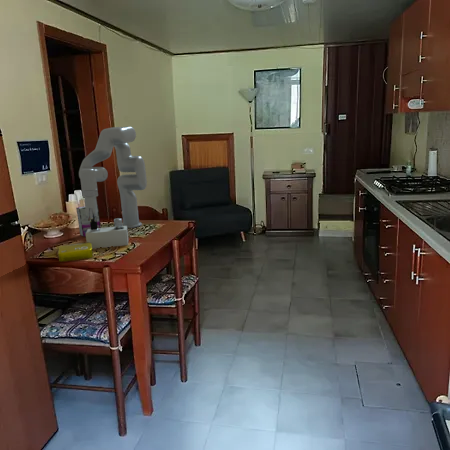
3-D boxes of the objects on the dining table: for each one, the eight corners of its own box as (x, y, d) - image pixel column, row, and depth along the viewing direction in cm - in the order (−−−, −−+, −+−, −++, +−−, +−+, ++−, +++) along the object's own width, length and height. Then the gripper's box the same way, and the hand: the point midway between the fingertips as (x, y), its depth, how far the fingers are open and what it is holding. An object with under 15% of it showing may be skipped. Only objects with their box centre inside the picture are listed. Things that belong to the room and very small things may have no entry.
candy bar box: (97, 231, 244) (94, 204, 241) (101, 232, 241) (98, 205, 237) (79, 235, 237) (75, 207, 234) (83, 236, 234) (79, 208, 230)
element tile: (92, 250, 207) (90, 240, 206) (93, 258, 193) (92, 248, 192) (60, 254, 202) (58, 245, 201) (59, 263, 188) (57, 253, 187)
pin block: (89, 243, 217) (87, 229, 216) (128, 240, 221) (126, 225, 219) (87, 248, 208) (85, 233, 206) (128, 244, 211) (126, 229, 210)
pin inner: (115, 229, 215) (114, 218, 214) (123, 229, 216) (121, 217, 215) (114, 231, 212) (113, 220, 210) (122, 230, 212) (121, 219, 211)
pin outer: (92, 239, 214) (90, 228, 213) (100, 238, 215) (98, 227, 214) (91, 241, 210) (90, 230, 209) (99, 240, 211) (98, 229, 210)
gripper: (84, 192, 214) (88, 226, 218) (80, 196, 199) (84, 233, 203) (99, 191, 215) (103, 225, 219) (96, 194, 201) (100, 231, 205)
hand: (94, 229), depth 211 cm, fingers closed
